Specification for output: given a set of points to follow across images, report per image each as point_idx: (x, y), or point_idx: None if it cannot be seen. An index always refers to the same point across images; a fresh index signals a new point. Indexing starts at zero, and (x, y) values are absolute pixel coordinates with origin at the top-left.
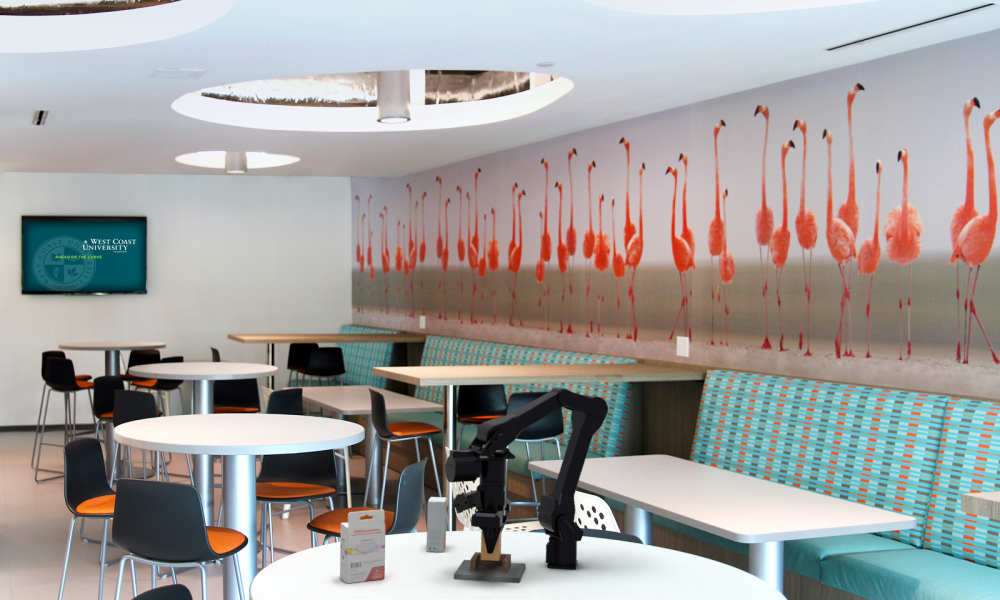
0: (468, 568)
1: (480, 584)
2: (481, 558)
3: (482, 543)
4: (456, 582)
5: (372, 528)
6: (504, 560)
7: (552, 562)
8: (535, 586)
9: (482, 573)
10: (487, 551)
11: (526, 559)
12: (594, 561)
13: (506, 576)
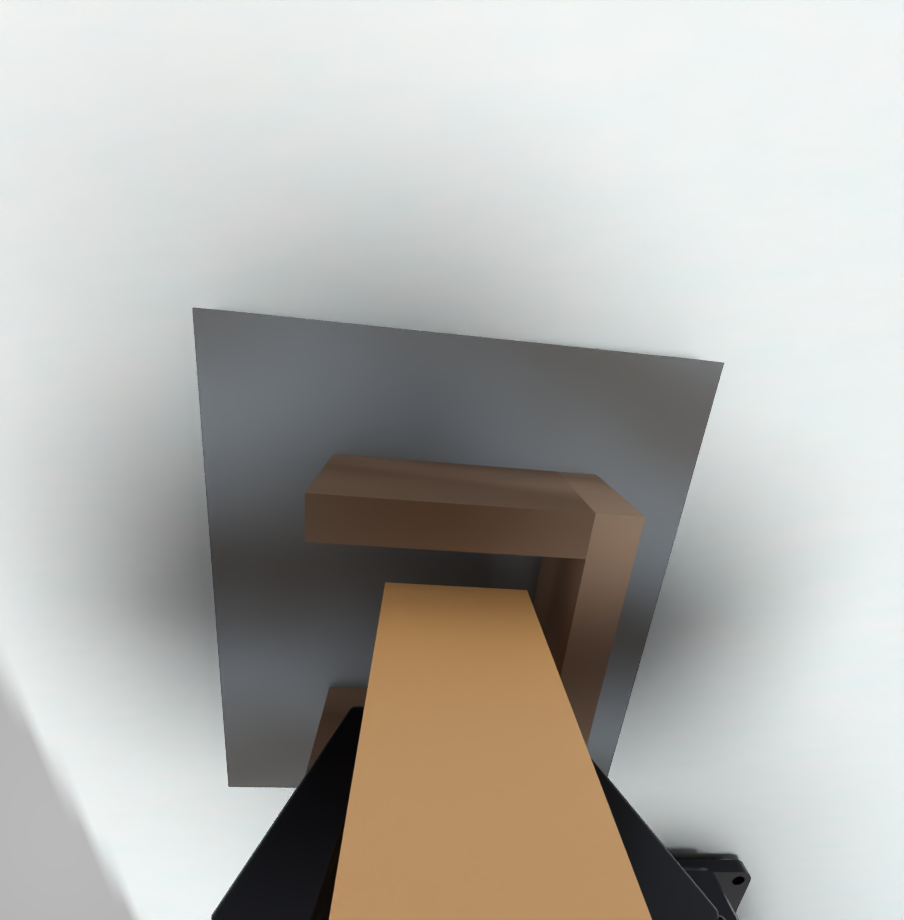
0: (419, 431)
1: (125, 539)
2: (383, 597)
3: (359, 759)
4: (113, 346)
5: None
6: None
7: None
8: (197, 830)
9: (282, 558)
10: (342, 723)
11: (790, 752)
12: None
13: (245, 717)
